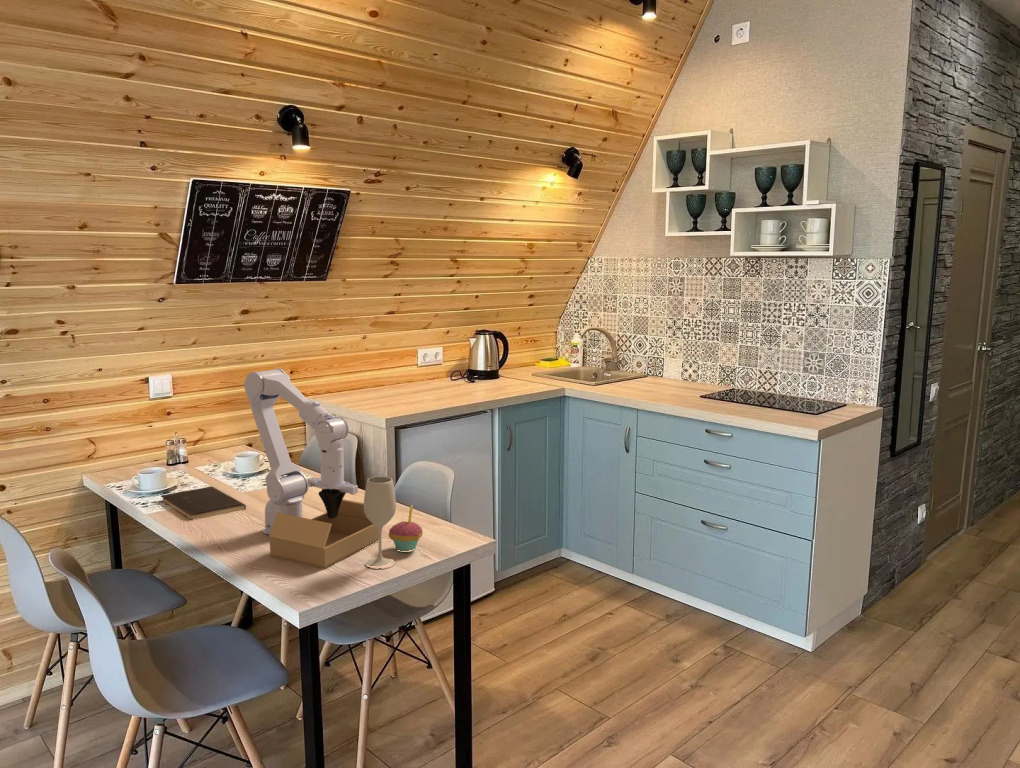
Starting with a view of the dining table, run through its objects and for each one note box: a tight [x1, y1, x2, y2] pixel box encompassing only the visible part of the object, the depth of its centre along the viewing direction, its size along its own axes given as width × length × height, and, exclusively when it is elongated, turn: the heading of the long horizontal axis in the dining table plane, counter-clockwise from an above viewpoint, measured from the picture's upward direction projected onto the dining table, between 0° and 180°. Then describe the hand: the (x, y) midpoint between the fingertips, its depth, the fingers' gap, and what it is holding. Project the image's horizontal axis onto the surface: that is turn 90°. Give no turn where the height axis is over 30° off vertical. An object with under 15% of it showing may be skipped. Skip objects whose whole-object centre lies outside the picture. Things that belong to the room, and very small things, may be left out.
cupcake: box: [388, 503, 424, 551], centre depth 197 cm, size 9×8×12 cm
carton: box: [269, 512, 379, 570], centre depth 198 cm, size 17×22×5 cm
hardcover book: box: [160, 486, 247, 520], centre depth 230 cm, size 16×23×2 cm
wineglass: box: [363, 475, 397, 566], centre depth 187 cm, size 8×8×21 cm
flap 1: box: [268, 512, 332, 549], centre depth 188 cm, size 17×6×1 cm
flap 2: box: [338, 498, 369, 520], centre depth 205 cm, size 17×6×1 cm
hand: (332, 517), depth 199 cm, fingers closed
